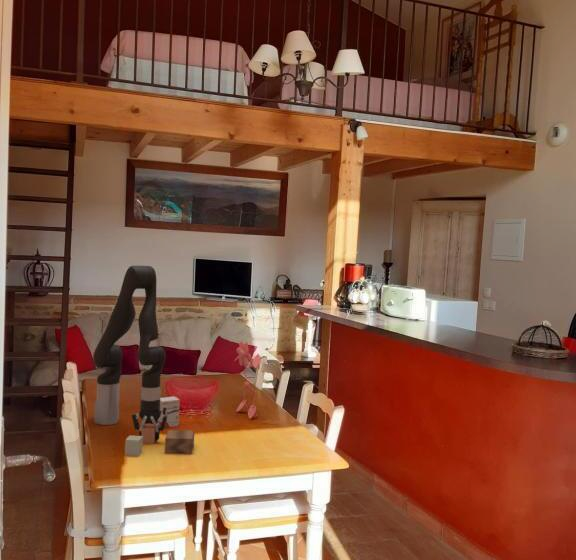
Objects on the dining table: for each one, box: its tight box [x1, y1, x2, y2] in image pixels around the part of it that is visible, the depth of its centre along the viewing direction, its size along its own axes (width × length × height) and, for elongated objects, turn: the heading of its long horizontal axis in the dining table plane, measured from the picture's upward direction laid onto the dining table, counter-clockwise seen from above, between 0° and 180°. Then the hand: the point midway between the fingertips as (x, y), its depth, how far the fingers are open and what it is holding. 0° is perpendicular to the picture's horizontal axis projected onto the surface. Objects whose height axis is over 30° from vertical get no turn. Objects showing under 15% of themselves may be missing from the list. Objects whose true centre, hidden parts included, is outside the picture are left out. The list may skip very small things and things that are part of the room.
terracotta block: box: [141, 424, 157, 445], centre depth 241 cm, size 5×5×6 cm
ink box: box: [158, 395, 180, 429], centre depth 263 cm, size 8×5×12 cm, turn 123°
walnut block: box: [164, 429, 195, 455], centre depth 234 cm, size 10×10×6 cm
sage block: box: [124, 434, 143, 457], centre depth 227 cm, size 5×5×6 cm
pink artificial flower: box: [226, 340, 262, 423], centre depth 281 cm, size 15×26×35 cm, turn 30°
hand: (149, 440), depth 241 cm, fingers closed on terracotta block, 5 cm apart
